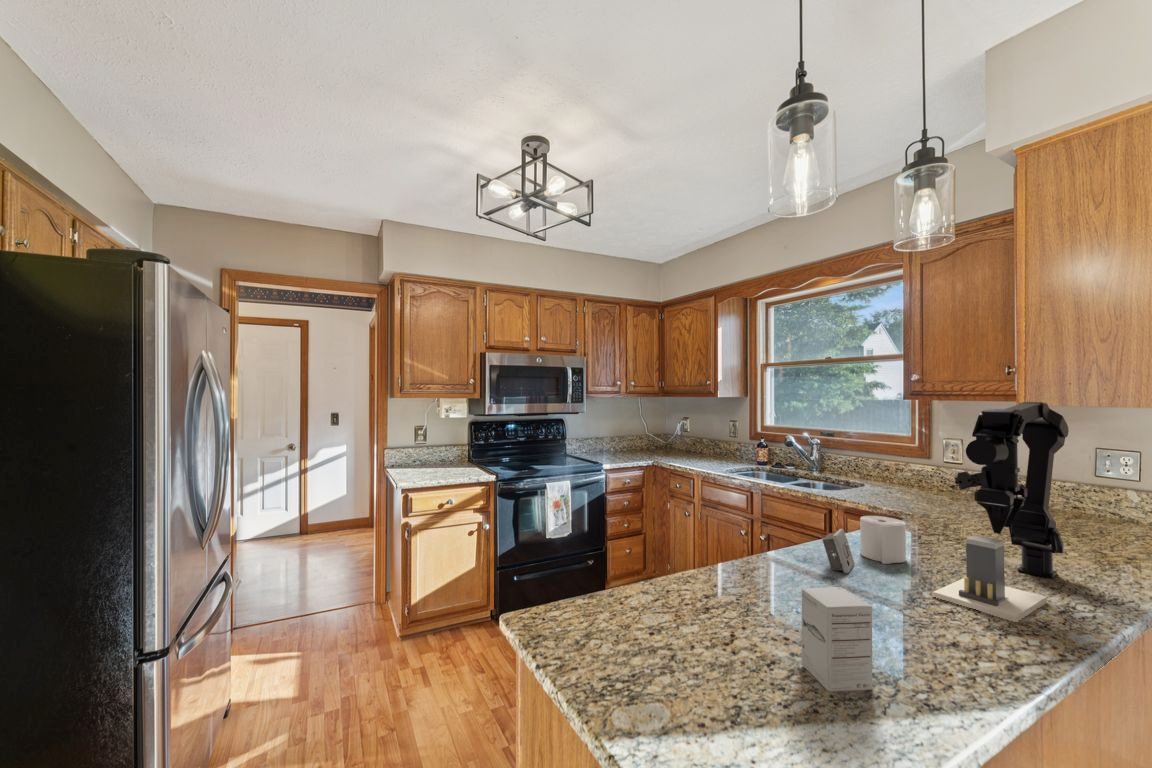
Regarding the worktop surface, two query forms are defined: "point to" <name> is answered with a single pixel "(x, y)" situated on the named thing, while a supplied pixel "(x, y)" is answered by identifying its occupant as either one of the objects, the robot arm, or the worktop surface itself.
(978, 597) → the board
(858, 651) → the supplement box
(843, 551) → the electrical switch
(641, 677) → the worktop surface
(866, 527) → the toilet tissue
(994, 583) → the plug block
